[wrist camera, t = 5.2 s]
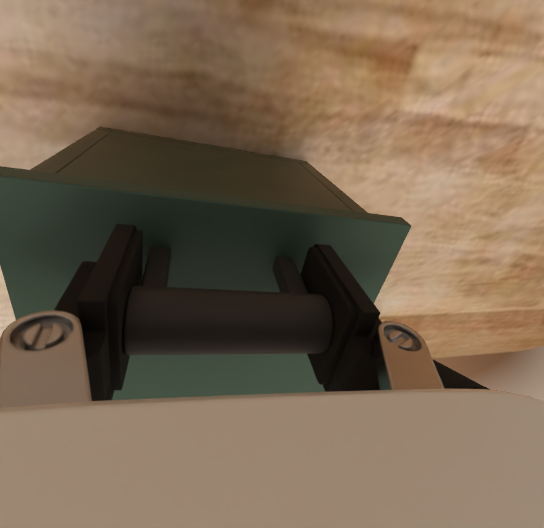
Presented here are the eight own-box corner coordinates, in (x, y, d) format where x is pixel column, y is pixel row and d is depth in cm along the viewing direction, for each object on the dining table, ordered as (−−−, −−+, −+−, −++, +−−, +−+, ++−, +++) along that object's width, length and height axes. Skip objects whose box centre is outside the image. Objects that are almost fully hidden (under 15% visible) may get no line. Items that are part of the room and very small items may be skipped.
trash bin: (99, 126, 20) (8, 181, 10) (306, 161, 24) (384, 225, 14) (110, 322, 28) (65, 460, 18) (266, 324, 32) (298, 439, 22)
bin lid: (-12, 164, 9) (-172, 254, 5) (402, 216, 13) (492, 292, 9) (64, 460, 18) (27, 579, 14) (298, 440, 22) (321, 528, 18)
